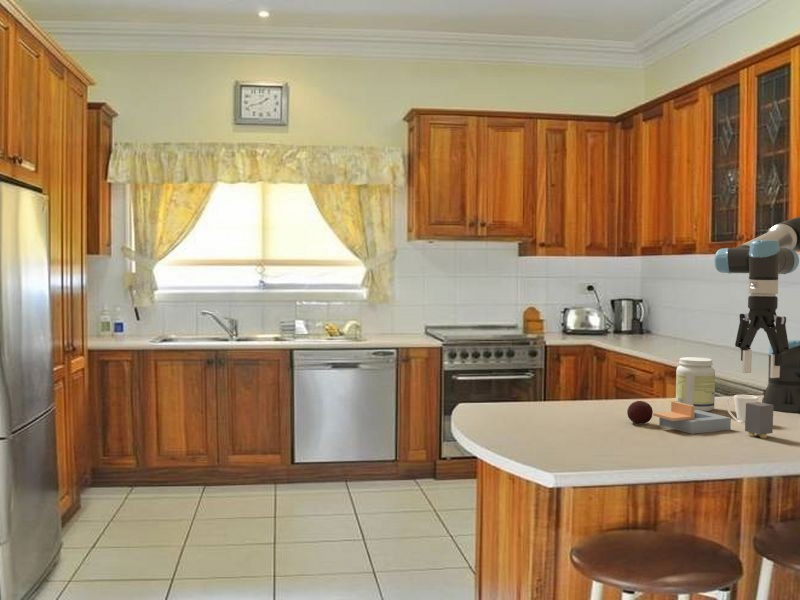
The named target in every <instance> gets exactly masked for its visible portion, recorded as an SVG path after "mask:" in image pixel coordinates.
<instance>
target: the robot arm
mask: <svg viewBox="0 0 800 600" xmlns="http://www.w3.org/2000/svg"><path fill="white" fill-rule="evenodd" d="M797 252H800V216H797V217H793V218H790V219H788V220H784V221H782V222H780V223H777V224H775V225H774V226H772V227H771V228H770V229H769V230H767V232H765V233H764V234H760V235H759V236H757V237H755V238H753V239H751V240H749V241H747V242H744V243H742V244H740V245H738V246H735V247H730V248H729V247H726V248H725V247H724V248H720V249H718V250H717V251H716V252H715V255H714V267H715V270H717V272H719V273H722V274H748V294H749V295H748V297H747V308H748V309H749V311H748V312H747V313H740V314H739V323H738V324H739V325H738V329H737V333H736V339H735V343H734V345H735V348H738V349H740V361H742V367H741V368H742V369H741V370H742V371H741V373H742V374H751V373H752V363H753V362H752V361H753V360H752V358H753V350H751V349H752V348H751V346H752V344H753V342H754V340H755V336H756V335H757V333H758V331H759V330H760V329H763V331H764V332H765V333H766V336H767V339H768V340H769V341H768V342H769V344H770V346H769V348H768V349H769V351H768V381H767V386H766V389H765V392H764V394H763V397H762V400H761V403H766V404H771V405H773V411H778V412H786V413H787V412H788V413H800V339H791V340H790V339H788V334H787V327H786V323H787V317H786V316H779V315H777V312H776V311H777V310H778V304H779V303H778V302H779V299H778V296H776V295H778V294H779V275H787V274H791V273H793V272H794V271H796V270H797V268H798V266H799V264H800V257H799V254H798V253H797Z"/></svg>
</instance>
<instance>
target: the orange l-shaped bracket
mask: <svg viewBox="0 0 800 600" xmlns="http://www.w3.org/2000/svg"><path fill="white" fill-rule="evenodd" d="M694 408H695V406H693V405H688V404H684V403H680V402H676V400H671V405H670V411H662V412H653V414H652V417H653V416H654V417H655V418H659V419H660V418H664V419H667V420H671V421H678V420H688V419H694Z"/></svg>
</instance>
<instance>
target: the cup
mask: <svg viewBox="0 0 800 600" xmlns="http://www.w3.org/2000/svg"><path fill="white" fill-rule="evenodd" d="M731 400H734V401H733V402H734V408H735V409H734V410H735V414H736V416H735V415H734V414H733V413H732V412H731V409H730V403H731ZM758 400H759V396H756V395H753V394H751V395H750V394H735V395H733V397H732V396H731V397H730V398H729V399H728V400H727V403H726V410H727V412H728V414H729V415H730V416H731V417H732V418H733V420H735V421H737V423H739V422H740V424H744V423H745V417H746V403H752V402H759V401H758Z"/></svg>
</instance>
